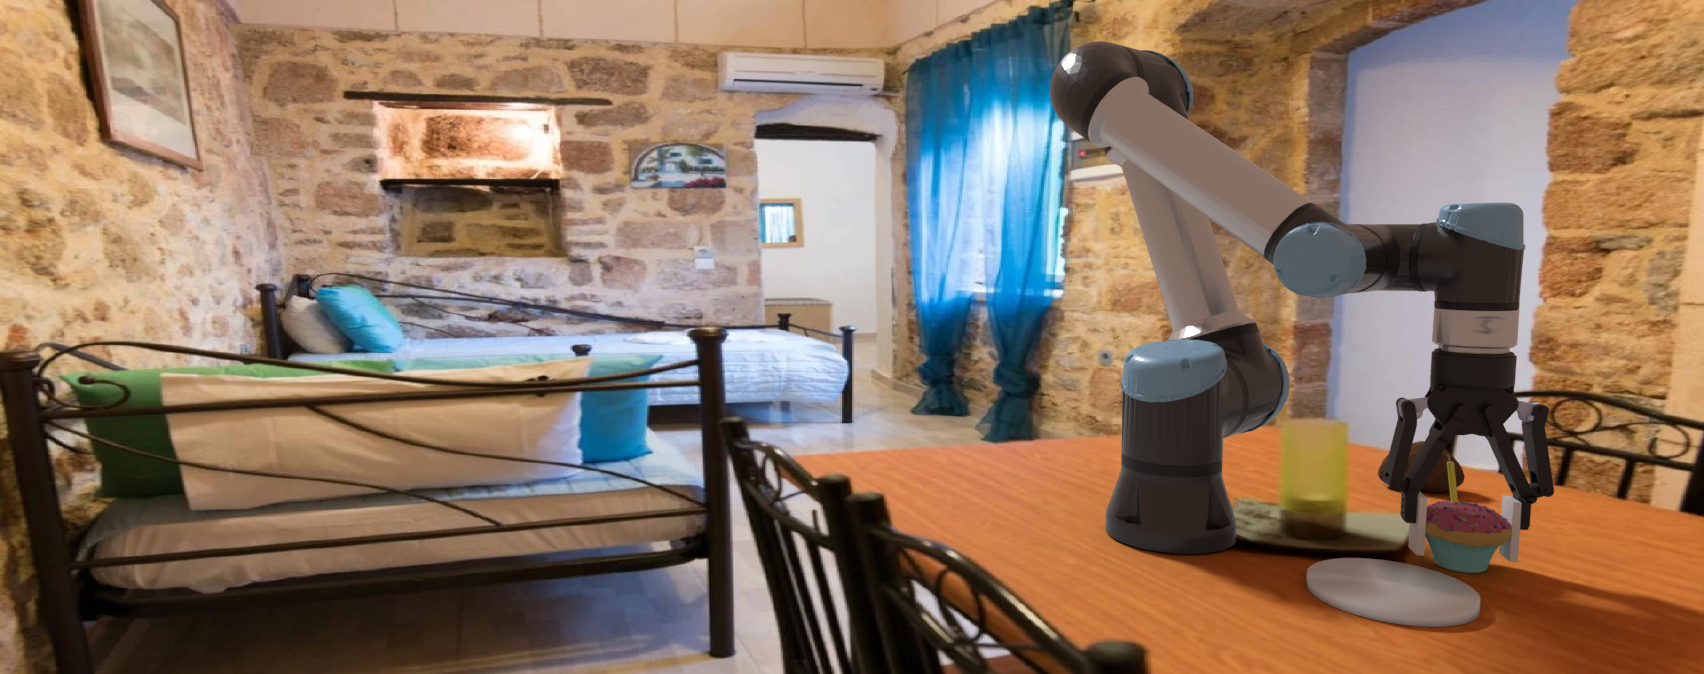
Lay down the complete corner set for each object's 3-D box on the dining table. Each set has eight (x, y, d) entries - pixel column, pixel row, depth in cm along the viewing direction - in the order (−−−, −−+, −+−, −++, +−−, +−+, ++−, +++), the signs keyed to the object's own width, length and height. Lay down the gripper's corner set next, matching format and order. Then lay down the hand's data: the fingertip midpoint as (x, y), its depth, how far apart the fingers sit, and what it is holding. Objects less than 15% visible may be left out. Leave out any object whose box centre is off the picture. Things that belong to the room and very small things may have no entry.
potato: (1372, 480, 134) (1374, 434, 133) (1453, 485, 130) (1456, 438, 130) (1383, 492, 127) (1385, 444, 126) (1469, 498, 124) (1472, 449, 123)
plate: (1325, 617, 86) (1325, 605, 85) (1292, 563, 100) (1293, 552, 100) (1507, 633, 82) (1508, 621, 81) (1446, 574, 96) (1447, 563, 96)
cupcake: (1397, 559, 101) (1402, 454, 100) (1448, 547, 104) (1453, 446, 103) (1476, 585, 93) (1483, 471, 92) (1528, 572, 96) (1534, 462, 95)
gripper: (1374, 350, 95) (1364, 558, 98) (1608, 354, 90) (1592, 574, 92) (1355, 343, 103) (1346, 536, 105) (1571, 346, 97) (1557, 550, 99)
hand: (1461, 554), depth 98 cm, fingers closed on cupcake, 8 cm apart
